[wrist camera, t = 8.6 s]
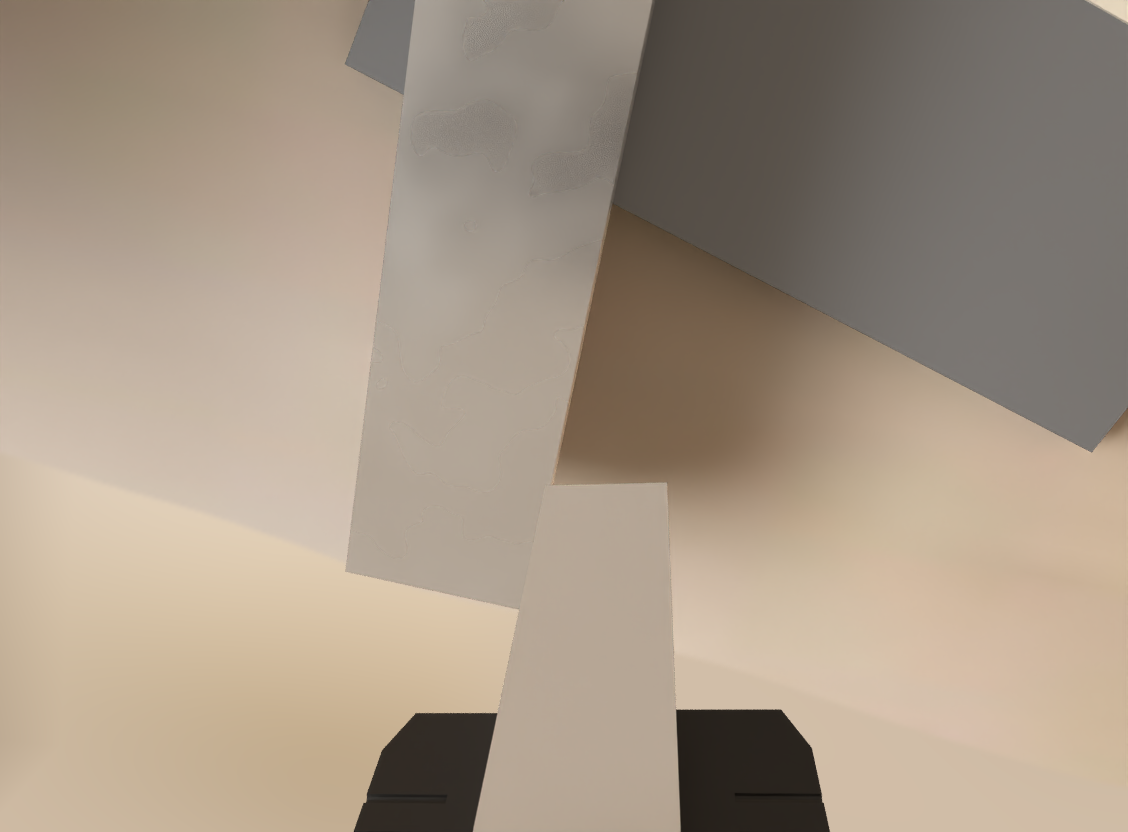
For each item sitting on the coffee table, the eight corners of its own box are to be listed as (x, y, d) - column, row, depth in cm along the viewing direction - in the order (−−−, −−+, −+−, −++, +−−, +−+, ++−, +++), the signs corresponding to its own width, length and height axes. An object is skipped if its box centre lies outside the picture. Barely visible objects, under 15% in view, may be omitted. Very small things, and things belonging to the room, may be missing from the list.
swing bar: (542, -556, 18) (485, -813, 12) (762, -510, 18) (807, -750, 12) (397, 481, 26) (323, 609, 20) (547, 513, 26) (514, 651, 20)
